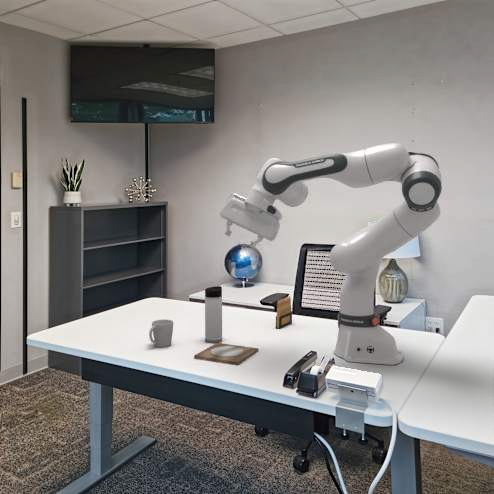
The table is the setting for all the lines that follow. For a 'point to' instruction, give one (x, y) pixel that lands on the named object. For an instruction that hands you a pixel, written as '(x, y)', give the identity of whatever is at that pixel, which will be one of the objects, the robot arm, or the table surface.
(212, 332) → the travel mug
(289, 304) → the ammunition clip
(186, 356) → the table surface
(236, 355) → the board
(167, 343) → the cup
